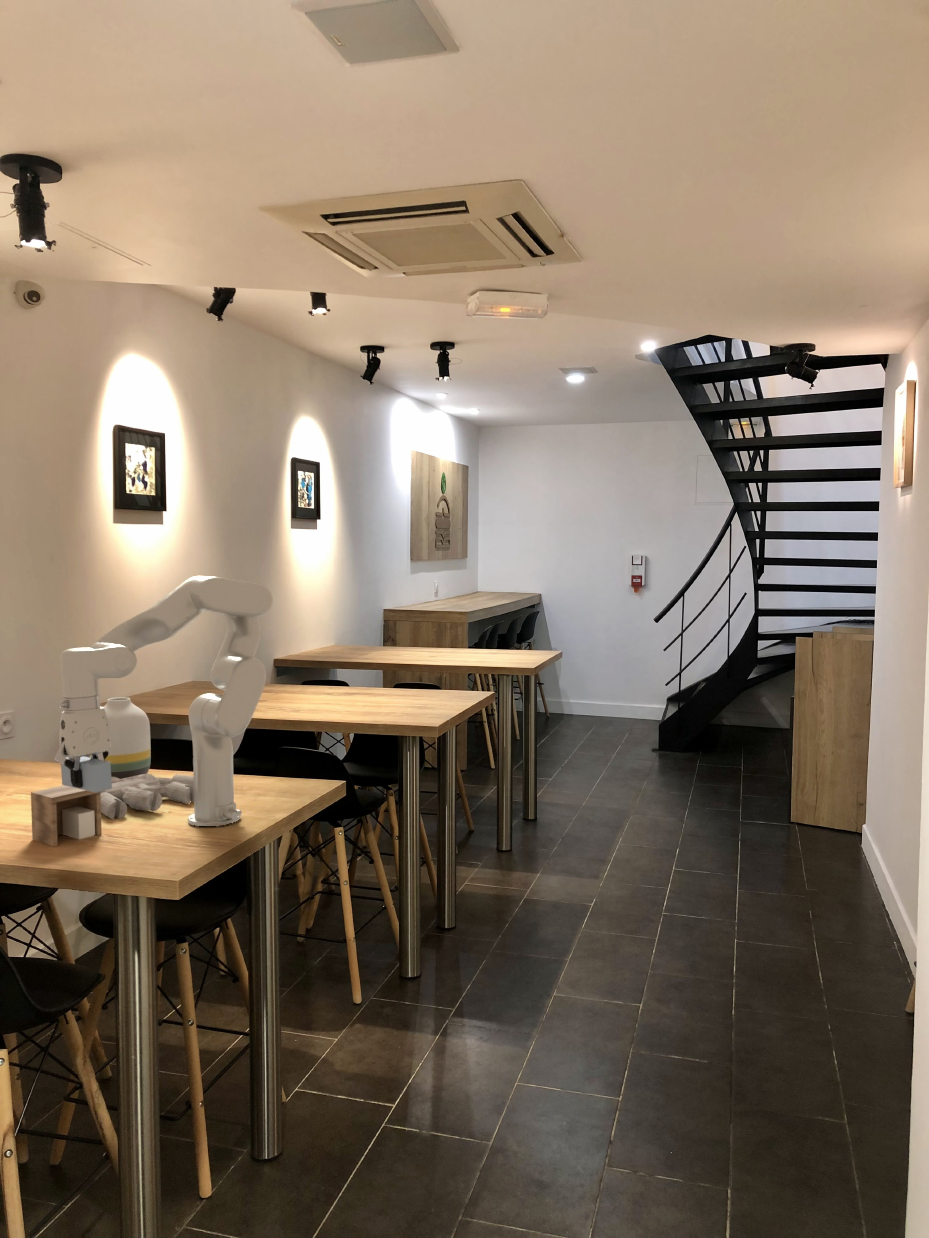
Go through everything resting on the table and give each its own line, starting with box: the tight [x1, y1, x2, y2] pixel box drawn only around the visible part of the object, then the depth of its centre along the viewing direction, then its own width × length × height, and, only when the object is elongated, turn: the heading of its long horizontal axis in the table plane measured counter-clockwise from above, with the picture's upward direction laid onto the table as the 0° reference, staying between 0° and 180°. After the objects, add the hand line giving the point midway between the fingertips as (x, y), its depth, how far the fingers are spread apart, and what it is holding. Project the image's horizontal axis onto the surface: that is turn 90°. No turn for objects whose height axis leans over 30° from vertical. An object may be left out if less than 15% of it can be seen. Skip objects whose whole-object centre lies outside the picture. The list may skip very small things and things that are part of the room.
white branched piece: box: [100, 772, 194, 820], centre depth 250 cm, size 31×7×30 cm
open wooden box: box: [30, 785, 103, 847], centre depth 217 cm, size 9×12×11 cm
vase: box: [89, 696, 152, 779], centre depth 274 cm, size 17×17×24 cm
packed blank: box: [62, 806, 96, 840], centre depth 219 cm, size 7×4×6 cm, turn 53°
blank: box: [60, 756, 112, 793], centre depth 208 cm, size 13×4×6 cm, turn 54°
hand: (87, 783), depth 208 cm, fingers closed on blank, 4 cm apart
